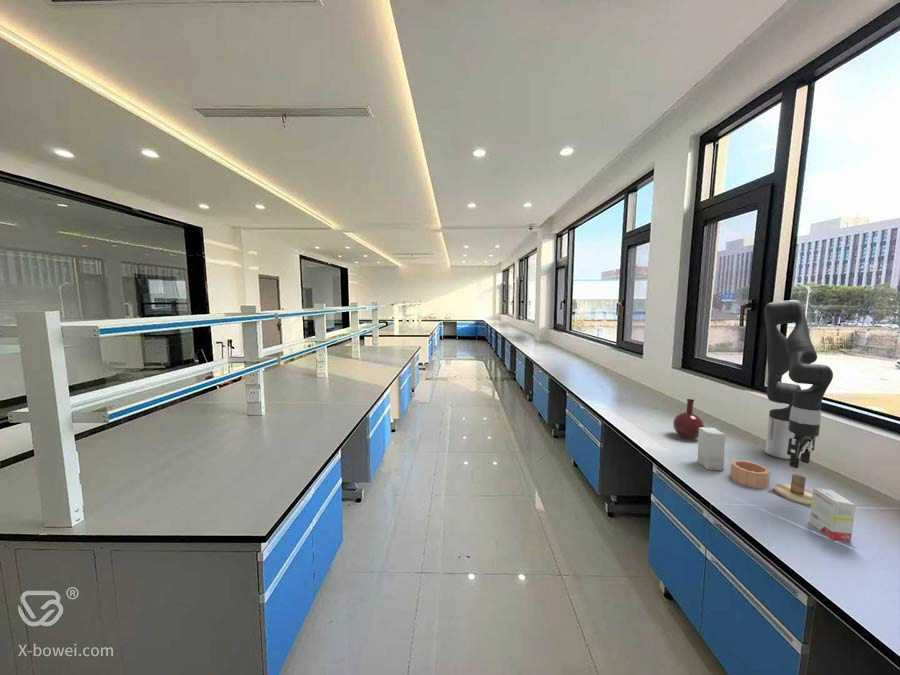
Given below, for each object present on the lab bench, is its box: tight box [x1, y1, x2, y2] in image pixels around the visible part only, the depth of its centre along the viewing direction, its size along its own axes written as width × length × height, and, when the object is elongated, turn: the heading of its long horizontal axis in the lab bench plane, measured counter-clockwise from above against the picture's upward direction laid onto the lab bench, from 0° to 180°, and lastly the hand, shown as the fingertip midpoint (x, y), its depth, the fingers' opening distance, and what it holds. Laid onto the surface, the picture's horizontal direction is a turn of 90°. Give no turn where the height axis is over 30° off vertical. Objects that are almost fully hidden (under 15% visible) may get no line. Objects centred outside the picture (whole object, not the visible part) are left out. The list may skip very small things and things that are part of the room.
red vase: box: [672, 398, 706, 440], centre depth 176 cm, size 13×13×20 cm
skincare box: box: [696, 427, 726, 472], centre depth 146 cm, size 8×7×16 cm
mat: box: [767, 487, 811, 509], centre depth 123 cm, size 12×12×1 cm
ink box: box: [808, 487, 856, 542], centre depth 104 cm, size 9×5×12 cm, turn 168°
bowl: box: [729, 459, 771, 489], centre depth 134 cm, size 11×11×6 cm
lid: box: [773, 473, 813, 505], centre depth 123 cm, size 12×12×7 cm
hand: (799, 464), depth 122 cm, fingers open, 8 cm apart
